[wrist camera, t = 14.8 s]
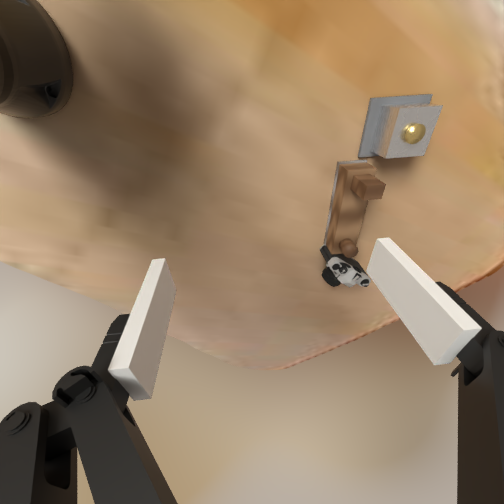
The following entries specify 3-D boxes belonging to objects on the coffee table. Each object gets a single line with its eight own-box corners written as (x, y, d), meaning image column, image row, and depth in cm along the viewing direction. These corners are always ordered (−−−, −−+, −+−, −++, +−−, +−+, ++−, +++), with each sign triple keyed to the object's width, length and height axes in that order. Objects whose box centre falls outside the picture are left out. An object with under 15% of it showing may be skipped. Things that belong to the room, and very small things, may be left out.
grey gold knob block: (370, 150, 42) (388, 159, 37) (381, 105, 38) (403, 108, 33) (405, 148, 42) (427, 156, 37) (420, 102, 38) (447, 105, 33)
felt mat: (357, 156, 43) (359, 157, 42) (370, 98, 37) (372, 98, 37) (410, 152, 43) (412, 153, 43) (430, 94, 38) (432, 94, 37)
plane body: (346, 241, 55) (365, 268, 47) (323, 243, 54) (339, 270, 47) (365, 159, 43) (395, 176, 36) (337, 161, 43) (361, 179, 36)
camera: (303, 262, 57) (316, 290, 51) (324, 239, 54) (342, 266, 47) (338, 277, 63) (354, 304, 56) (360, 257, 59) (380, 283, 52)
